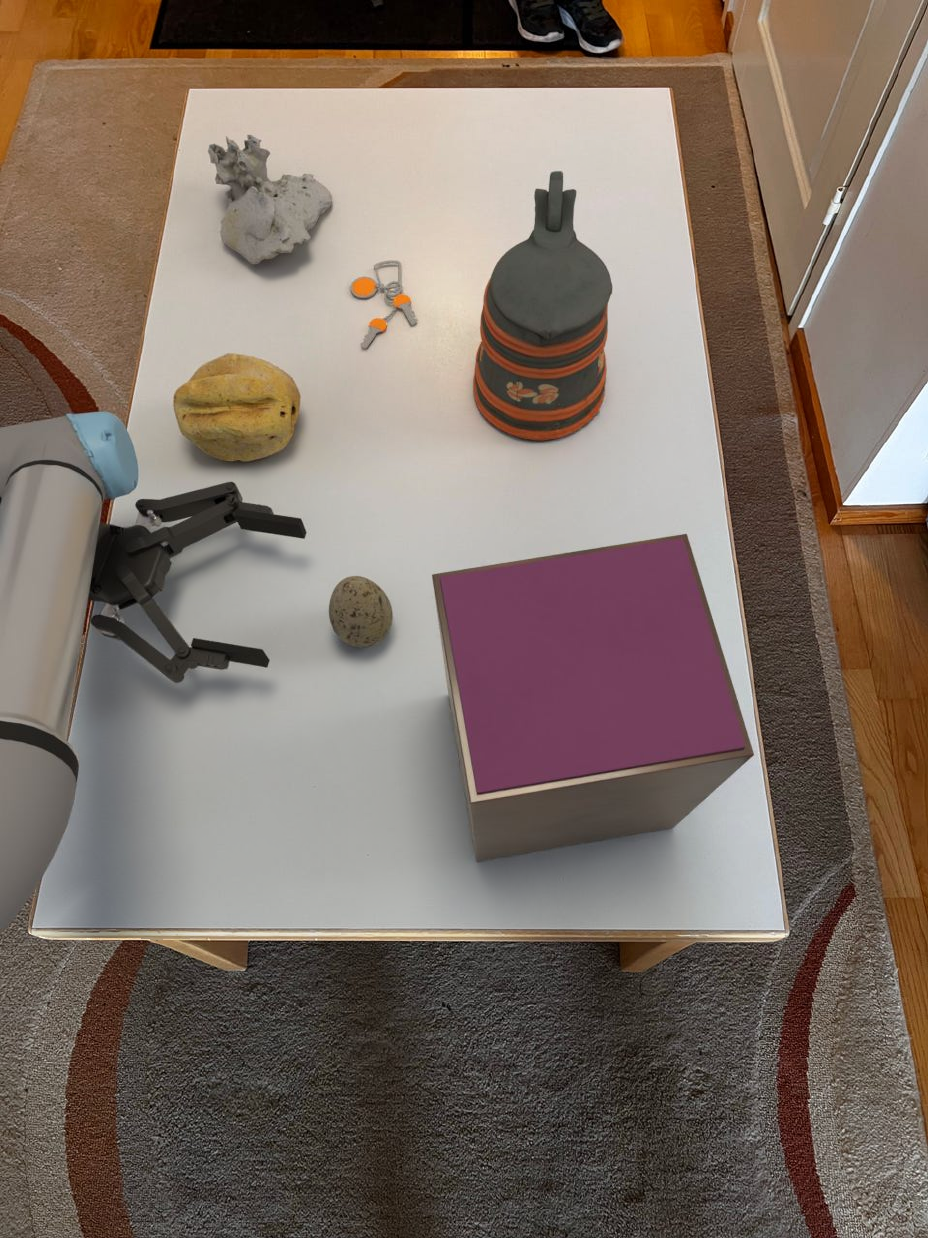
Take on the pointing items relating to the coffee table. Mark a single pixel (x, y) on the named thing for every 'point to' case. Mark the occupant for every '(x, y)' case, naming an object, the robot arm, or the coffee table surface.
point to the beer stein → (544, 328)
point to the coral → (264, 202)
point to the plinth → (588, 800)
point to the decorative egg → (360, 612)
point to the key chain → (368, 288)
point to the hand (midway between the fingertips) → (285, 591)
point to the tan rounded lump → (238, 408)
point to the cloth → (586, 666)
